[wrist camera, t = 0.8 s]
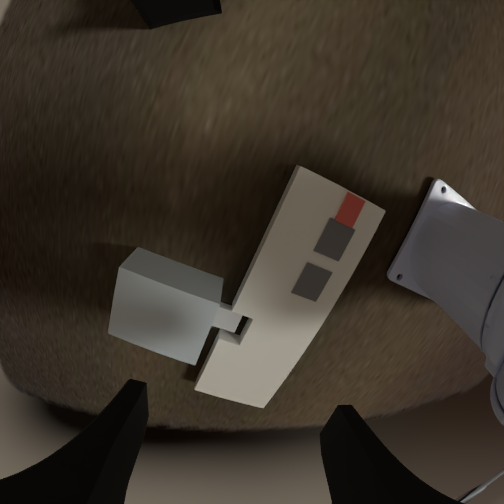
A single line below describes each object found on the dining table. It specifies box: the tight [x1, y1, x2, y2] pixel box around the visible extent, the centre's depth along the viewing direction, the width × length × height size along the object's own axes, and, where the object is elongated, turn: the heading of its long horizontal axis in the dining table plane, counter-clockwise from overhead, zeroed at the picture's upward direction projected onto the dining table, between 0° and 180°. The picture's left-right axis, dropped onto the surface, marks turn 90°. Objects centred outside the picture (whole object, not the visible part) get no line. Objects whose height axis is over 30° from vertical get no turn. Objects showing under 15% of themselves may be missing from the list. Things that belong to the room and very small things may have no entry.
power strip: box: [194, 165, 386, 408], centre depth 19 cm, size 6×18×1 cm, turn 157°
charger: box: [108, 247, 243, 365], centre depth 18 cm, size 8×5×4 cm, turn 68°
